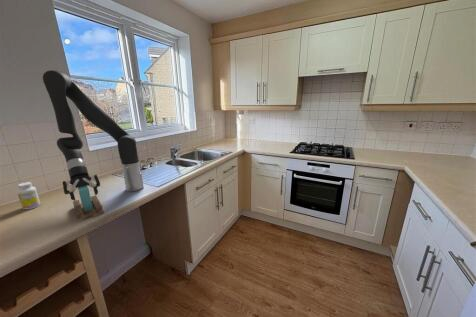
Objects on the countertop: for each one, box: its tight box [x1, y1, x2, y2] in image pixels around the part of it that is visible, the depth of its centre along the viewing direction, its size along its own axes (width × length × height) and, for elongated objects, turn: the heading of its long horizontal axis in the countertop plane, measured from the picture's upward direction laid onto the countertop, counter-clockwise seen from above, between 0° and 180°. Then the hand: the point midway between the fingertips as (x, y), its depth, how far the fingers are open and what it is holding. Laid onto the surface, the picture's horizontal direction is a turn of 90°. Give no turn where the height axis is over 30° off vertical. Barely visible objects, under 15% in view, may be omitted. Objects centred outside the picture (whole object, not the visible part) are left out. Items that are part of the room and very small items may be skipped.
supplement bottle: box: [16, 181, 41, 210], centre depth 102 cm, size 7×7×13 cm
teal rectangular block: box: [77, 185, 93, 212], centre depth 98 cm, size 4×5×11 cm, turn 43°
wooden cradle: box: [72, 194, 105, 222], centre depth 99 cm, size 10×17×4 cm, turn 43°
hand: (85, 197), depth 97 cm, fingers open, 8 cm apart
